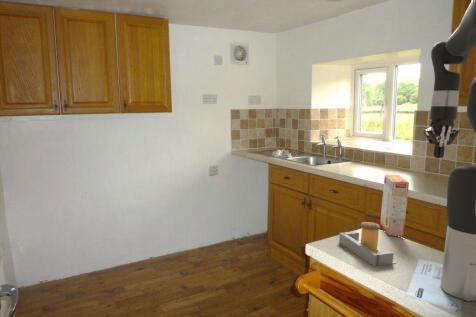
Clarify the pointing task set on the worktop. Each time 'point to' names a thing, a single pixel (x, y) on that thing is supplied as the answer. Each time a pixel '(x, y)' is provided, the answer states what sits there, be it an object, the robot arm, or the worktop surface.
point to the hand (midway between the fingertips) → (438, 157)
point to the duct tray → (365, 250)
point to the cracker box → (394, 205)
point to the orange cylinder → (370, 235)
